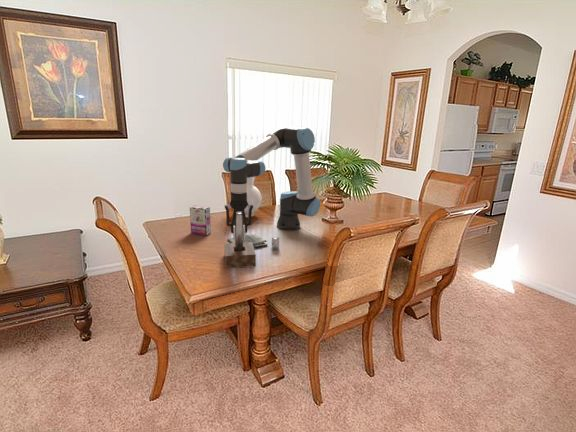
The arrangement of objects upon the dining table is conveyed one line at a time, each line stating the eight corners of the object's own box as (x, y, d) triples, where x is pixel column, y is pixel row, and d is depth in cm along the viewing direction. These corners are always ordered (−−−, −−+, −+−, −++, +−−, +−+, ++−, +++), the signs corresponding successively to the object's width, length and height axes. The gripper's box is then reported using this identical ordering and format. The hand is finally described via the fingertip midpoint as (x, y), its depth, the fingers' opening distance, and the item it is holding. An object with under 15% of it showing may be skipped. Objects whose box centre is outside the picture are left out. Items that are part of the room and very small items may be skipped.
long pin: (243, 247, 165) (242, 212, 160) (243, 250, 161) (243, 214, 156) (234, 247, 164) (234, 212, 159) (235, 250, 160) (234, 214, 155)
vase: (265, 217, 235) (266, 175, 227) (238, 221, 224) (237, 177, 215) (253, 210, 250) (253, 171, 241) (226, 214, 238) (225, 173, 230)
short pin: (278, 247, 182) (278, 237, 180) (279, 250, 178) (279, 239, 177) (271, 247, 181) (271, 237, 180) (272, 250, 178) (272, 239, 176)
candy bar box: (211, 233, 200) (210, 207, 195) (206, 236, 196) (205, 209, 191) (195, 230, 204) (194, 204, 199) (190, 233, 199) (189, 206, 194)
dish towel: (226, 241, 190) (226, 236, 189) (255, 236, 198) (255, 231, 198) (238, 252, 174) (238, 247, 174) (269, 247, 183) (269, 242, 182)
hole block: (252, 253, 173) (252, 242, 172) (255, 266, 158) (255, 254, 157) (224, 254, 170) (224, 243, 169) (225, 268, 156) (225, 256, 154)
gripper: (256, 189, 160) (255, 235, 167) (219, 190, 156) (221, 237, 163) (258, 193, 153) (257, 241, 159) (220, 193, 149) (221, 242, 156)
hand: (239, 238), depth 161 cm, fingers closed on long pin, 4 cm apart
